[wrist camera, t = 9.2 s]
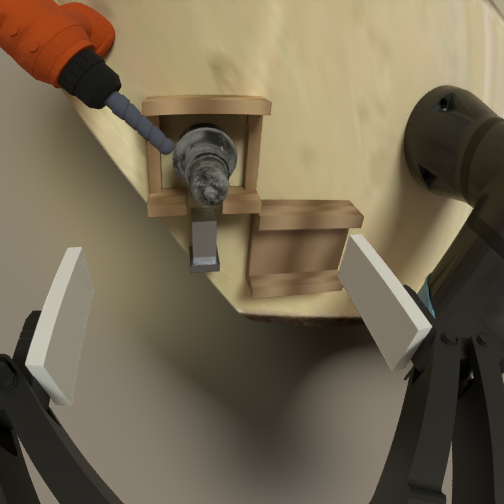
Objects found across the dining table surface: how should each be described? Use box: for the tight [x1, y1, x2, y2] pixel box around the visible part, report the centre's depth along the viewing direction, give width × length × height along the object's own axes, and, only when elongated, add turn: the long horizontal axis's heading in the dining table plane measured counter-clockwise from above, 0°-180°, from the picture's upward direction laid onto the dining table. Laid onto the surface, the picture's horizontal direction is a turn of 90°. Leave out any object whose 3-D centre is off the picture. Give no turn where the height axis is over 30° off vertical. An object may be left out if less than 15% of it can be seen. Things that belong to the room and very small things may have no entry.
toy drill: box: [0, 0, 174, 155], centre depth 17 cm, size 5×19×15 cm, turn 42°
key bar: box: [189, 208, 220, 273], centre depth 34 cm, size 3×6×4 cm, turn 176°
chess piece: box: [173, 123, 237, 207], centre depth 25 cm, size 6×6×12 cm
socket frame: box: [142, 95, 272, 217], centre depth 29 cm, size 11×11×4 cm
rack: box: [246, 200, 364, 298], centre depth 37 cm, size 12×11×4 cm
